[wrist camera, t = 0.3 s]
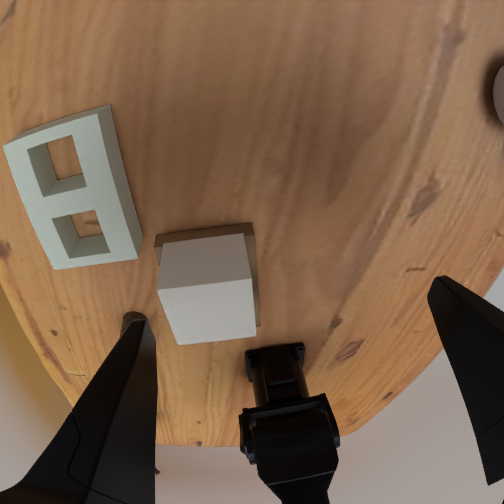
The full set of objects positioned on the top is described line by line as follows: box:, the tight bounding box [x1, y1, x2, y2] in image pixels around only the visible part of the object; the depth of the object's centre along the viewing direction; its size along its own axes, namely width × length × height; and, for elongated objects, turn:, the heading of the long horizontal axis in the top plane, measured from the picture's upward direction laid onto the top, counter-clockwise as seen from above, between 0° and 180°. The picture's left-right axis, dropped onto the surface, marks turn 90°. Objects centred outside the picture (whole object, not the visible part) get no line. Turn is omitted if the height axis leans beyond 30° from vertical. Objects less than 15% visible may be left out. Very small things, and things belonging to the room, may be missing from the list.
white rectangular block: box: [157, 233, 256, 345], centre depth 21 cm, size 6×6×4 cm
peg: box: [119, 312, 148, 339], centre depth 25 cm, size 2×2×7 cm
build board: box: [3, 104, 143, 270], centre depth 18 cm, size 10×7×2 cm
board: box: [154, 223, 261, 327], centre depth 24 cm, size 10×7×4 cm
